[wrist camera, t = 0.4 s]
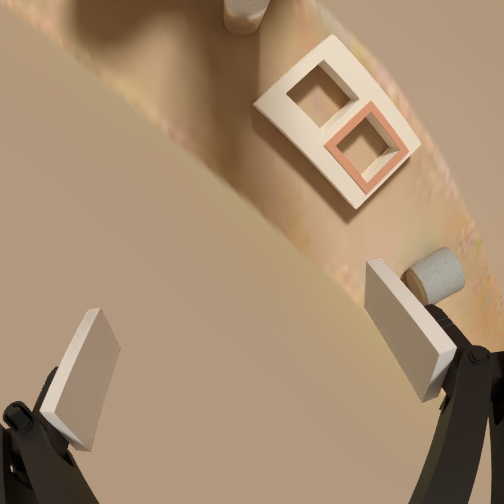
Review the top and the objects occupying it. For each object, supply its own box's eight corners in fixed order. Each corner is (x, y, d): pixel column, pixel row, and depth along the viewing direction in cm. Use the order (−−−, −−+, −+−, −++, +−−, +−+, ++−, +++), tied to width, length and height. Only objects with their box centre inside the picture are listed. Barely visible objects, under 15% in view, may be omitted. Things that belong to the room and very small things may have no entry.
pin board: (252, 104, 35) (254, 103, 32) (324, 39, 31) (333, 33, 28) (347, 202, 41) (356, 209, 38) (409, 140, 38) (422, 143, 35)
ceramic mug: (398, 262, 46) (423, 287, 39) (437, 238, 45) (465, 259, 38) (410, 307, 50) (431, 333, 43) (445, 284, 49) (468, 308, 42)
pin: (223, 5, 29) (224, -31, 19) (259, 5, 29) (273, -30, 19) (223, 36, 31) (224, 7, 21) (260, 35, 31) (275, 7, 21)
